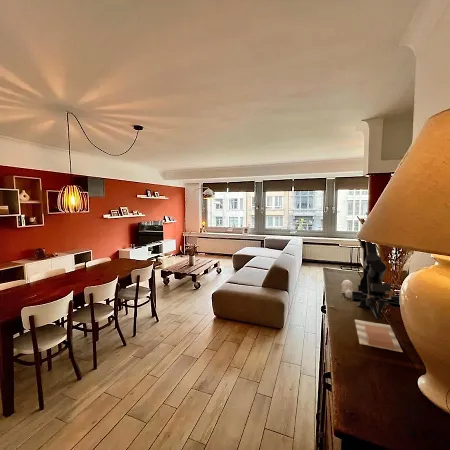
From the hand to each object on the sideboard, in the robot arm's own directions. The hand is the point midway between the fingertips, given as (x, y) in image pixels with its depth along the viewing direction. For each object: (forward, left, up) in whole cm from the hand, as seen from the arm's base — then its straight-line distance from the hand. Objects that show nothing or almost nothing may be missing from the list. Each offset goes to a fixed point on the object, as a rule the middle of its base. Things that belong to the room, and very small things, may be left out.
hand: (377, 318), depth 101 cm
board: (-2, -1, -9) cm, 9 cm away
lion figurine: (-52, -8, -9) cm, 53 cm away
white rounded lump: (-43, -24, -9) cm, 50 cm away
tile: (-4, -1, -6) cm, 7 cm away
